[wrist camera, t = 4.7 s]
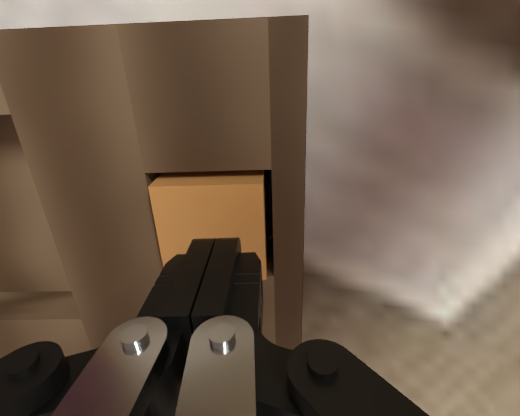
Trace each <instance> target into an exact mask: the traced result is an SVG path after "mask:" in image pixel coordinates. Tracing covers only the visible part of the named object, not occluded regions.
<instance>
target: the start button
mask: <svg viewBox="0 0 520 416" xmlns="http://www.w3.org/2000/svg"><path fill="white" fill-rule="evenodd" d="M148 190H149V195H150V200H151V206H152V211H153V216H154V221H155V226H156V232H157V237H158V242H159V247H160V253H161V258H162V263H163V267H164V265H165V264H166V263H167V262H168V261H169V260H170V259H172V258H173V257H174V256H175V255H177V254H186V252H187V250H188V248H189V246H190V243H191V241H192V240H193V239H202V238H216V239H217V238H235V237H239V238H240V242H241V252H242V253H243V252H255V253H256V254H257V256H258V257H259V259H260V260H261V266H262V280H266V277H267V229H266V198H265V170H237V171H202V172H167V173H161V174H160V175H159V176H158V177H157V178H156V179H155V180H154V181H153V182H152V183H151V184H150V185H149V186H148Z"/></svg>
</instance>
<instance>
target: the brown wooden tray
mask: <svg viewBox="0 0 520 416" xmlns="http://www.w3.org/2000/svg"><path fill="white" fill-rule="evenodd" d="M308 18H309V15H301V16H280V17H258V18H237V19H216V20H194V21H173V22H152V23H130V24H109V25H88V26H66V27H45V28H24V29H2V30H0V358H2V357H4V356H6V355H7V354H9V353H11V352H13V351H15V350H17V349H19V348H21V347H23V346H26V345H28V344H31V343H35V342H40V341H51V342H55V343H57V344H58V345H59V346H60V347H61V349H62V351H63V353H64V356H65V357H66V356H70V355H74V354H77V353H81V352H85V351H89V350H93V349H96V348H99V347H100V345H101V344H102V343H103V341H104V340H105V338H106V337H107V336H108V335H109V333H110V332H111V331H113V330H114V329H115V328H116V327H118V326H119V325H121V324H122V323H124V322H126V321H128V320H131V319H134V318H136V317H137V315H138V313H139V311H140V309H141V308H142V306H143V304H144V302H145V300H146V298H147V297H148V295H149V293H150V291H151V289H152V287H153V286H154V285H155V282H156V280H157V278H158V277H159V276H160V275H159V274H160V273H161V271H162V269H163V263H162V258H161V253H160V247H159V242H158V237H157V232H156V226H155V221H154V216H153V211H152V206H151V200H150V195H149V190H148V186H149V185H150V184H151V183H152V182H153V181H154V180H155V179H156V178H157V177H158V176H159V175H160V174H161V173H167V172H202V171H237V170H272V213H273V240H267V277H266V280H262V282H263V299H264V302H263V327H262V334H263V336H264V337H265V338H266V339H267V340H269V341H270V342H272V343H273V344H275V345H278V346H280V347H284V348H287V349H291V350H293V349H294V348H295V347H297V346H298V345H299V344H301V343H302V300H303V253H304V206H305V159H306V112H307V65H308Z"/></svg>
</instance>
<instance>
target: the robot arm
mask: <svg viewBox="0 0 520 416" xmlns="http://www.w3.org/2000/svg"><path fill="white" fill-rule="evenodd" d="M159 275H160V276H159V277H158V278H157V280H156V282H155V285H154V286H153V287H152V289H151V291H150V293H149V295H148V297H147V298H146V300H145V302H144V304H143V306H142V308H141V309H140V311H139V313H138V315H137V317H136V318H134V319H131V320H128V321H126V322H124V323H122V324H121V325H119V326H118V327H116V328H115V329H114V330H113V331H111V332H110V333H109V335H108V336H107V337H106V338H105V340H104V341H103V343H102V344H101V345H100V347H99V348H96V349H93V350H89V351H85V352H81V353H77V354H74V355H70V356H66V357H65V356H64V353H63V351H62V349H61V347H60V346H59V345H58V344H57V343H55V342H51V341H40V342H35V343H31V344H28V345H26V346H23V347H21V348H19V349H17V350H15V351H13V352H11V353H9V354H7V355H6V356H4V357H2V358H0V416H429V415H428V414H427V413H425V412H424V411H423V410H422V409H420V408H419V407H418V406H417V405H415V404H414V403H413V402H412V401H410V400H409V399H408V398H407V397H406V396H404V395H403V394H402V393H401V392H399V391H398V390H397V389H396V388H394V387H393V386H392V385H391V384H389V383H388V382H387V381H386V380H384V379H383V378H382V377H381V376H379V375H378V374H377V373H376V372H374V371H373V370H372V369H371V368H369V367H368V366H367V365H366V364H365V363H363V362H362V361H361V360H360V359H358V358H357V357H356V356H355V355H353V354H352V353H351V352H350V351H348V350H347V349H346V348H344V347H343V346H341V345H339V344H337V343H335V342H332V341H329V340H322V339H314V340H309V341H306V342H303V343H301V344H299V345H298V346H297V347H295V348H294V349H293V350H291V349H287V348H284V347H280V346H278V345H275V344H273V343H272V342H270V341H269V340H267V339H266V338H265V337H264V336H263V334H262V327H263V302H264V299H263V282H262V266H261V260H260V259H259V257H258V256H257V254H256V253H255V252H243V253H242V252H241V242H240V238H239V237H235V238H217V239H216V238H202V239H193V240H192V241H191V243H190V246H189V248H188V250H187V252H186V254H177V255H175V256H174V257H173V258H172V259H170V260H169V261H168V262H167V263H166V264H165V265H164V267H163V269H162V271H161V273H160V274H159Z"/></svg>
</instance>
